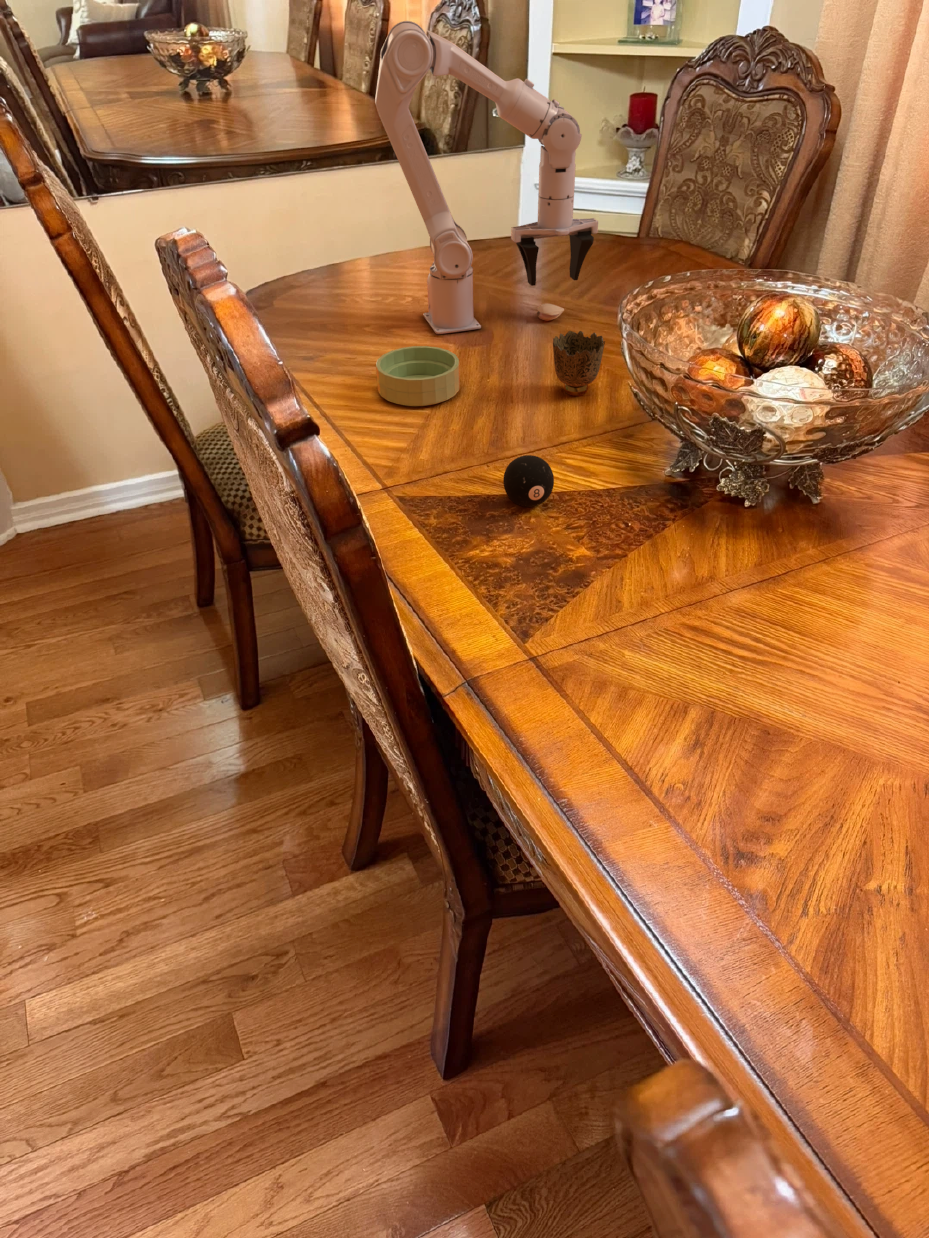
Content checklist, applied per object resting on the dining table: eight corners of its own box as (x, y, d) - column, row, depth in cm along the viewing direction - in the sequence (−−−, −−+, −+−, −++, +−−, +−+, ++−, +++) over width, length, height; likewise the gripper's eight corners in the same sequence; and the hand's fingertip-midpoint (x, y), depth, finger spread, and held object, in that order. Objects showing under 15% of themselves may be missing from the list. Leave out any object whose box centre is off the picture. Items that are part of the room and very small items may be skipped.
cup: (542, 397, 131) (544, 344, 126) (562, 378, 136) (564, 327, 131) (589, 407, 128) (593, 353, 123) (607, 387, 133) (612, 335, 128)
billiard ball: (512, 519, 106) (512, 475, 102) (497, 494, 110) (497, 450, 106) (559, 511, 107) (562, 467, 103) (543, 486, 111) (544, 443, 108)
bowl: (371, 380, 137) (368, 352, 134) (447, 369, 140) (446, 341, 137) (388, 414, 128) (385, 384, 125) (469, 402, 130) (468, 373, 128)
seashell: (532, 316, 156) (533, 302, 155) (558, 312, 158) (559, 298, 156) (543, 325, 153) (543, 310, 152) (569, 320, 154) (570, 306, 153)
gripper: (521, 206, 138) (520, 294, 147) (607, 197, 141) (601, 283, 150) (507, 195, 144) (506, 280, 152) (590, 186, 146) (585, 270, 155)
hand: (552, 281), depth 151 cm, fingers open, 7 cm apart
